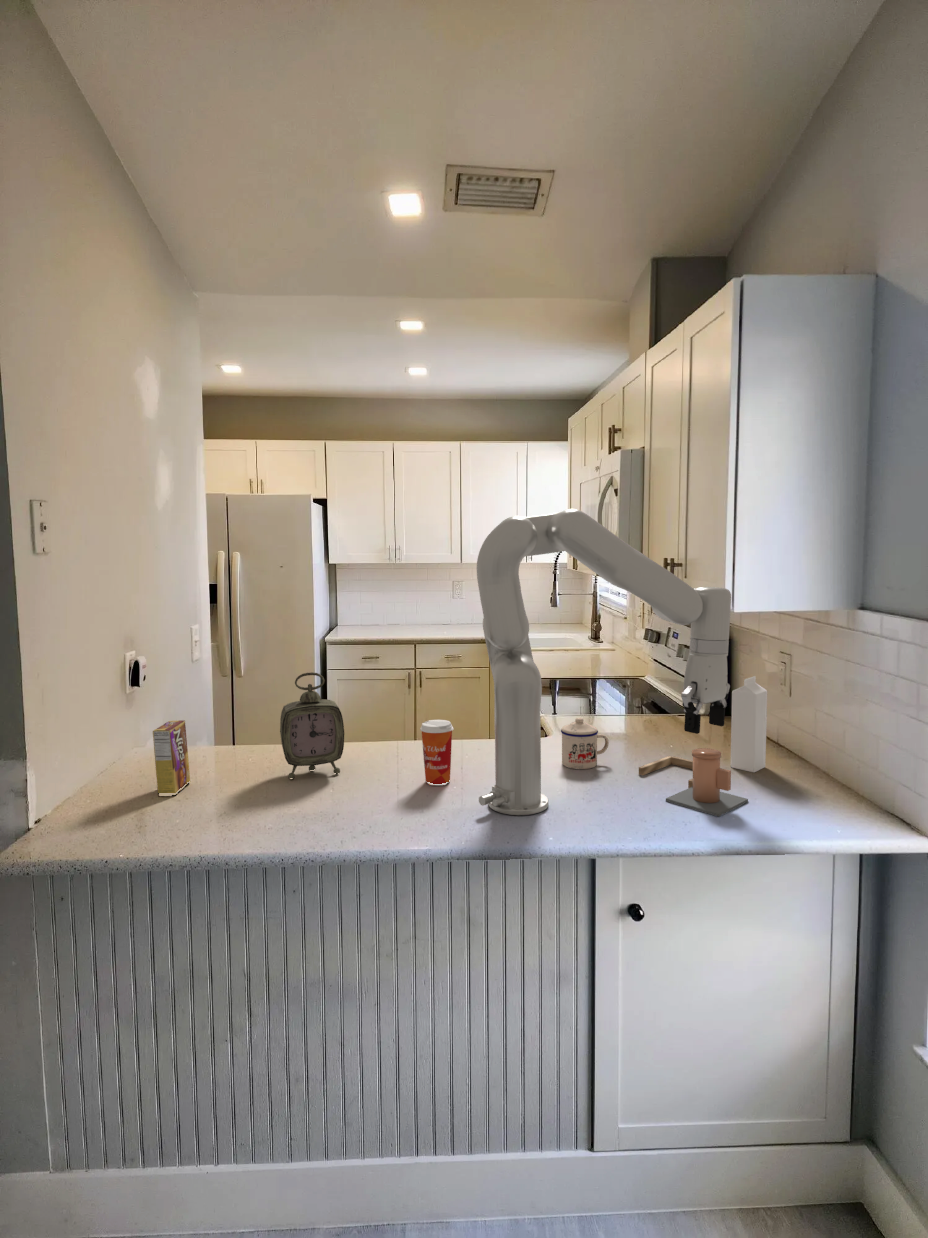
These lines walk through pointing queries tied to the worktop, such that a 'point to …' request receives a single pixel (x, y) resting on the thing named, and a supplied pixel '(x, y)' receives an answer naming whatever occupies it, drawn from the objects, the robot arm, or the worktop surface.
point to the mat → (716, 809)
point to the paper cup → (437, 750)
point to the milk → (749, 726)
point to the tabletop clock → (311, 730)
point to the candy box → (171, 756)
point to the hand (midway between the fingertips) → (704, 728)
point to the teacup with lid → (581, 745)
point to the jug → (709, 775)
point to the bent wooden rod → (665, 762)
